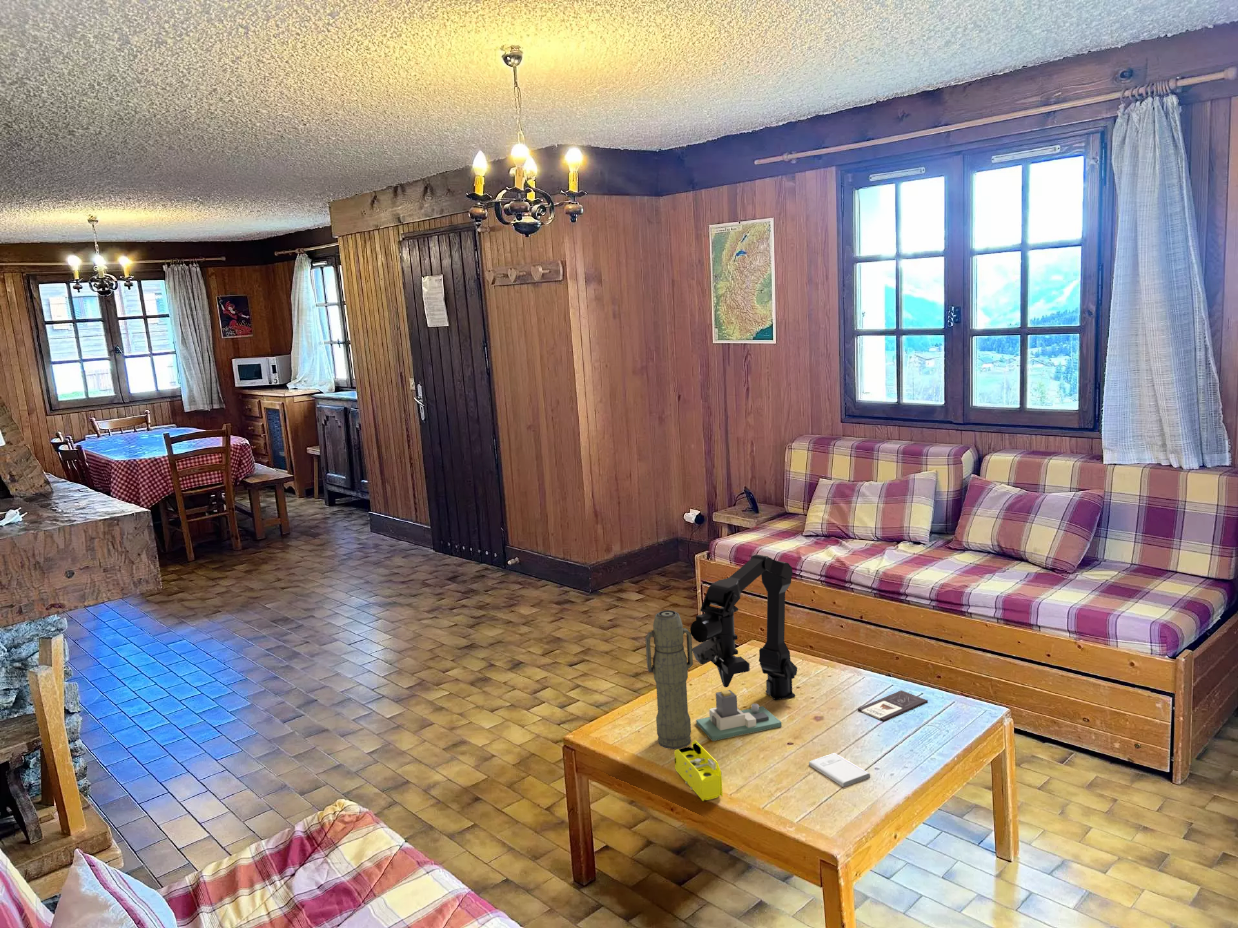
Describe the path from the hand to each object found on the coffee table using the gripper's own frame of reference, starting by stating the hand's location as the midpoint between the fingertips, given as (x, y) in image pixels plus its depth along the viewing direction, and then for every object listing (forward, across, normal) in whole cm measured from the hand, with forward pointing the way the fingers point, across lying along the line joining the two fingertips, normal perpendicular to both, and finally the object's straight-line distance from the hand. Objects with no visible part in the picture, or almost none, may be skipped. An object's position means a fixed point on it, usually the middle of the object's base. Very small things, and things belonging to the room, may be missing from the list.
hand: (725, 686), depth 243 cm
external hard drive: (+12, +32, +14) cm, 38 cm away
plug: (+10, 0, 0) cm, 10 cm away
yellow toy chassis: (+12, +25, -19) cm, 33 cm away
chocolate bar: (+12, +8, +46) cm, 48 cm away
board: (+11, 0, +3) cm, 12 cm away
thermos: (+12, +2, -16) cm, 20 cm away
